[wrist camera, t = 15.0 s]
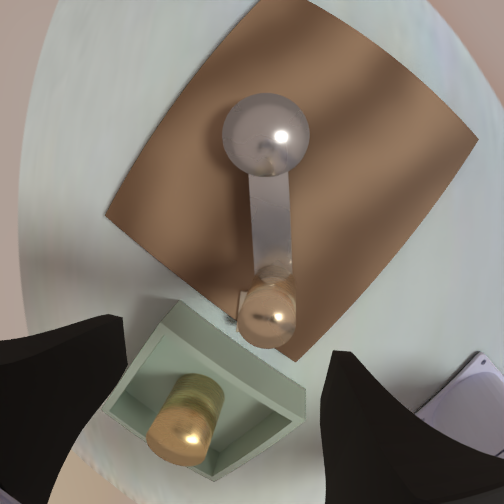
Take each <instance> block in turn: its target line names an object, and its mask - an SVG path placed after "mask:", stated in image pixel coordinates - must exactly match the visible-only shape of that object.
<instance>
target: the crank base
mask: <svg viewBox="0 0 504 504" xmlns="http://www.w3.org/2000/svg"><path fill="white" fill-rule="evenodd" d="M259 93H273V94H278V95H281V96H284V97H286V98H288V99H290V100H291V101H292V102H294V103H295V104H296V105H297V106H298V107H299V108H300V109H301V111H302V112H303V114H304V115H305V117H306V119H307V122H308V126H309V132H310V138H309V144H308V148H307V150H306V153H305V155H304V157H303V158H302V160H301V161H300V163H299V164H298V165H297V166H296V167H295V168H293V169H292V170H291V171H289V172H288V174H289V193H290V215H291V240H292V273H293V277H294V279H295V282H296V326H295V331H294V333H293V335H292V337H291V338H290V339H289V340H288V341H287V342H286V343H285V344H283V345H282V346H279V347H276V348H275V349H277V350H278V351H280V352H281V353H283V354H284V355H285V356H287V357H288V358H290V359H291V360H293V361H294V362H297V361H298V360H299V359H300V358H301V357H302V356H303V355H304V354H305V353H306V352H307V351H308V350H309V349H310V348H311V347H312V346H313V345H314V344H315V343H316V342H317V341H318V340H319V339H320V338H321V337H322V336H323V335H324V334H325V333H326V332H327V331H328V330H329V329H330V328H331V327H332V326H333V325H334V323H335V322H336V321H337V320H338V319H339V318H340V317H341V316H342V315H343V314H344V313H345V312H346V311H347V310H348V309H349V307H350V306H351V305H352V304H353V303H354V302H355V301H356V300H357V299H358V298H359V297H360V295H361V294H362V293H363V292H364V291H365V290H366V289H367V288H368V286H369V285H370V284H371V283H372V282H373V281H374V280H375V278H376V277H377V276H378V275H379V274H380V273H381V271H382V270H383V269H384V268H385V267H386V266H387V264H388V263H389V262H390V261H391V260H392V258H393V257H394V256H395V255H396V253H397V252H398V251H399V250H400V249H401V247H402V246H403V245H404V244H405V242H406V241H407V240H408V239H409V237H410V236H411V235H412V234H413V232H414V231H415V230H416V228H417V227H418V226H419V225H420V223H421V222H422V221H423V219H424V218H425V217H426V215H427V214H428V213H429V211H430V210H431V209H432V207H433V206H434V205H435V203H436V202H437V201H438V199H439V198H440V196H441V195H442V194H443V192H444V191H445V189H446V188H447V187H448V185H449V184H450V182H451V181H452V179H453V178H454V176H455V175H456V174H457V172H458V171H459V169H460V168H461V166H462V165H463V163H464V162H465V160H466V159H467V157H468V156H469V154H470V152H471V151H472V149H473V148H474V146H475V145H476V143H477V141H478V140H479V139H478V138H477V137H476V136H475V134H474V133H473V132H472V131H471V130H470V129H469V128H468V127H467V126H466V124H465V123H464V122H463V121H462V120H461V119H460V118H459V117H458V116H457V115H456V114H455V113H454V112H453V111H452V110H451V109H450V108H449V107H448V106H447V105H446V104H445V103H444V102H443V101H442V100H441V99H440V98H439V97H438V96H437V95H436V94H435V93H434V92H433V91H432V90H431V89H430V88H429V87H428V86H426V85H425V84H424V83H423V82H422V81H421V80H420V79H419V78H417V77H416V76H415V75H414V74H413V73H412V72H411V71H409V70H408V69H407V68H406V67H405V66H403V65H402V64H401V63H400V62H398V61H397V60H396V59H395V58H393V57H392V56H391V55H390V54H388V53H387V52H386V51H384V50H383V49H382V48H380V47H379V46H378V45H376V44H375V43H374V42H372V41H371V40H370V39H368V38H367V37H365V36H364V35H362V34H361V33H360V32H358V31H357V30H355V29H354V28H352V27H351V26H349V25H348V24H346V23H345V22H343V21H341V20H340V19H338V18H337V17H335V16H333V15H332V14H330V13H329V12H327V11H325V10H324V9H322V8H320V7H318V6H317V5H315V4H313V3H311V2H310V1H308V0H260V1H259V2H258V3H257V4H256V5H255V6H254V7H253V8H252V9H251V10H250V12H249V13H248V14H247V15H246V16H245V17H244V18H243V19H242V20H241V21H240V22H239V23H238V24H237V26H236V27H235V28H234V29H233V30H232V31H231V32H230V33H229V35H228V36H227V37H226V38H225V39H224V40H223V41H222V43H221V44H220V45H219V46H218V47H217V49H216V50H215V51H214V52H213V53H212V55H211V56H210V57H209V58H208V59H207V61H206V62H205V63H204V64H203V66H202V67H201V68H200V69H199V71H198V72H197V73H196V74H195V76H194V77H193V78H192V80H191V81H190V82H189V84H188V85H187V86H186V88H185V89H184V90H183V92H182V93H181V94H180V96H179V97H178V98H177V100H176V101H175V103H174V104H173V105H172V107H171V108H170V110H169V111H168V112H167V114H166V115H165V117H164V118H163V120H162V121H161V123H160V124H159V126H158V127H157V129H156V130H155V132H154V133H153V135H152V136H151V138H150V139H149V141H148V142H147V144H146V145H145V147H144V149H143V150H142V152H141V153H140V155H139V157H138V158H137V160H136V161H135V163H134V165H133V166H132V168H131V170H130V171H129V173H128V175H127V177H126V178H125V180H124V182H123V183H122V185H121V187H120V189H119V190H118V192H117V194H116V196H115V198H114V199H113V201H112V203H111V205H110V207H109V209H108V211H107V212H106V214H105V216H106V217H107V218H108V219H109V220H111V221H112V222H113V223H114V224H115V225H116V226H118V227H119V228H120V229H121V230H122V231H123V232H125V233H126V234H127V235H128V236H129V237H131V238H132V239H133V240H134V241H135V242H137V243H138V244H139V245H140V246H141V247H143V248H144V249H145V250H146V251H147V252H149V253H150V254H151V255H152V256H154V257H155V258H156V259H157V260H158V261H160V262H161V263H162V264H163V265H165V266H166V267H167V268H168V269H170V270H171V271H172V272H173V273H175V274H176V275H177V276H179V277H180V278H181V279H182V280H184V281H185V282H186V283H187V284H189V285H190V286H191V287H193V288H194V289H195V290H196V291H198V292H199V293H200V294H202V295H203V296H204V297H206V298H207V299H208V300H210V301H211V302H212V303H214V304H215V305H216V306H217V307H219V308H220V309H221V310H223V311H224V312H226V313H227V314H228V315H230V316H231V317H232V318H234V319H235V320H236V321H237V318H238V314H239V311H240V309H241V307H242V304H243V302H244V299H245V297H246V294H247V292H248V290H249V287H250V285H251V282H252V280H253V278H254V276H255V272H254V255H253V239H252V223H251V207H250V191H249V175H248V173H246V172H244V171H242V170H241V169H239V168H238V167H237V166H236V165H235V164H234V163H233V162H232V161H231V160H230V159H229V157H228V155H227V154H226V151H225V149H224V145H223V140H222V130H223V125H224V121H225V119H226V117H227V115H228V113H229V112H230V110H231V109H232V108H233V107H234V106H235V105H236V104H237V103H238V102H240V101H241V100H243V99H244V98H246V97H248V96H251V95H254V94H259ZM236 332H239V329H238V325H237V327H236Z"/></svg>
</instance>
